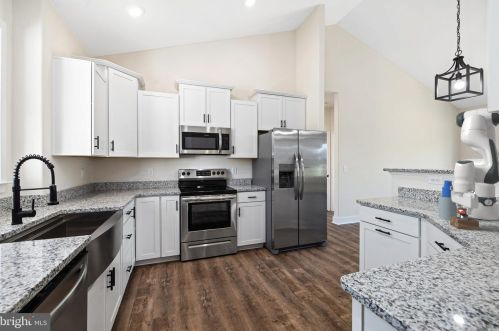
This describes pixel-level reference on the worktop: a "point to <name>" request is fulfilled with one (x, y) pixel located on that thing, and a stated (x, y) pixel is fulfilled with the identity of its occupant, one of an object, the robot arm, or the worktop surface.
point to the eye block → (464, 223)
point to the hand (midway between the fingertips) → (464, 213)
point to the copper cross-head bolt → (462, 213)
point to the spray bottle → (447, 202)
